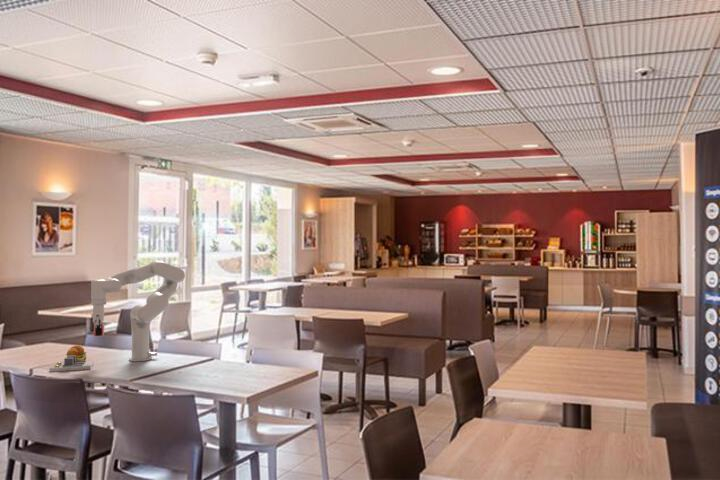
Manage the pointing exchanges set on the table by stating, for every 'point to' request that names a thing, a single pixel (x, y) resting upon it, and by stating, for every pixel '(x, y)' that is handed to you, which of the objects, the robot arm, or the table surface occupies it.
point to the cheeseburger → (77, 352)
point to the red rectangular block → (102, 329)
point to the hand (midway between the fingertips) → (99, 334)
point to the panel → (71, 366)
